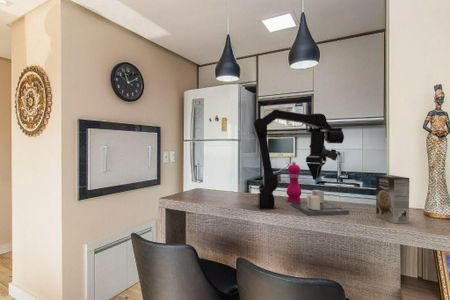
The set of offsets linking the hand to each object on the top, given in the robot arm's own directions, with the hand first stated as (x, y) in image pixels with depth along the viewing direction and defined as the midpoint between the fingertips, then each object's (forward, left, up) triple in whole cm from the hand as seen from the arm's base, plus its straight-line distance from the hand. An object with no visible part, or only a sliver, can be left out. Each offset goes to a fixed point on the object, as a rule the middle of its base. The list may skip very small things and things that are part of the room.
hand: (316, 178), depth 110 cm
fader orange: (-5, -7, -11) cm, 14 cm away
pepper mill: (-4, +16, -13) cm, 21 cm away
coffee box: (+19, -20, -13) cm, 31 cm away
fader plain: (+3, +5, -11) cm, 13 cm away
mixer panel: (0, -1, -13) cm, 13 cm away
